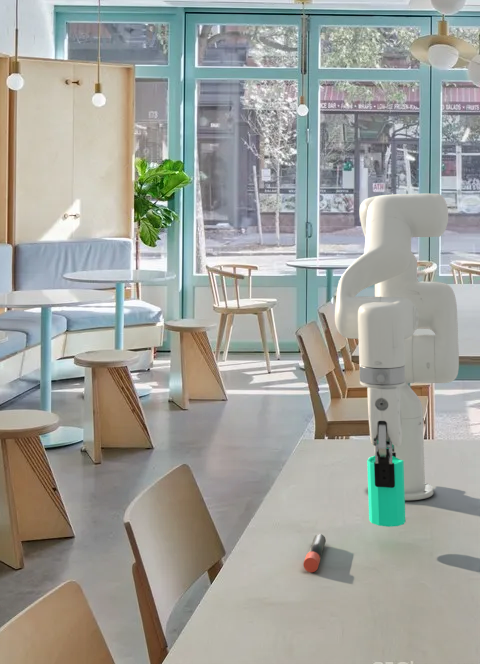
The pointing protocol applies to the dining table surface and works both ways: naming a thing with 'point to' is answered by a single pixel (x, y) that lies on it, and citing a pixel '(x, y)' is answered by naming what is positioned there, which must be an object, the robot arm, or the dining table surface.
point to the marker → (314, 553)
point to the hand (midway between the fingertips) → (385, 479)
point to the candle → (386, 497)
